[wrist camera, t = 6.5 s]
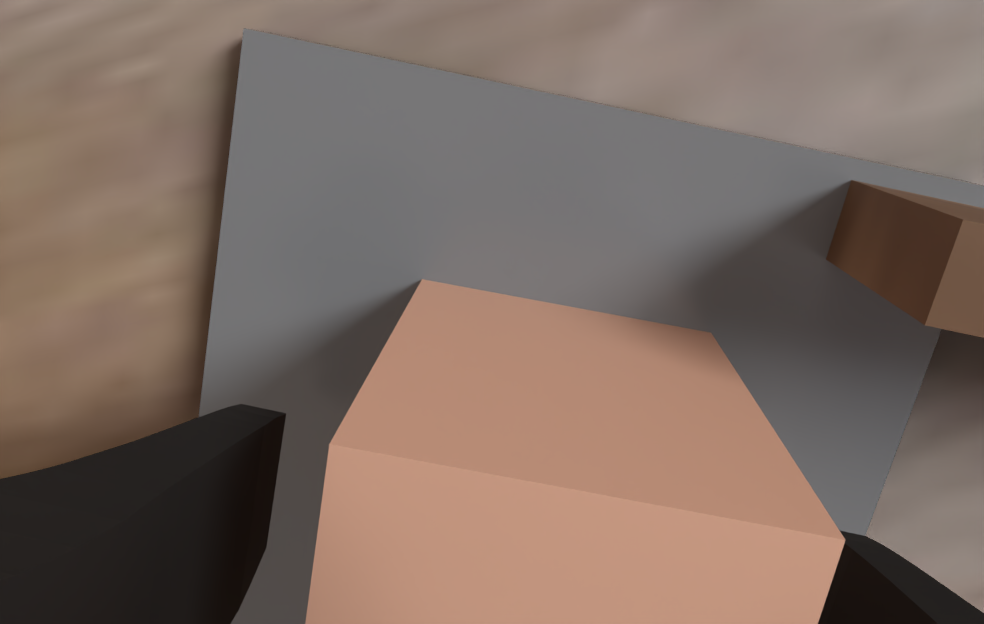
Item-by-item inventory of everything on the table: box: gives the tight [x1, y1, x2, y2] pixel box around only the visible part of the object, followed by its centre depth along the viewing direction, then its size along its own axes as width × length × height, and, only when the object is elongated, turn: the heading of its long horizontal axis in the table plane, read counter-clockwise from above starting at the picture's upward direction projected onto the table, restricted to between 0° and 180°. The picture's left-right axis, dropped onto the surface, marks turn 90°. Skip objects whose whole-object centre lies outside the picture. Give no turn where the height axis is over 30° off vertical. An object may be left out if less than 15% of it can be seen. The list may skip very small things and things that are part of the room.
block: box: [305, 279, 845, 624], centre depth 11 cm, size 4×4×6 cm
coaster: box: [199, 28, 984, 624], centre depth 14 cm, size 11×11×1 cm
